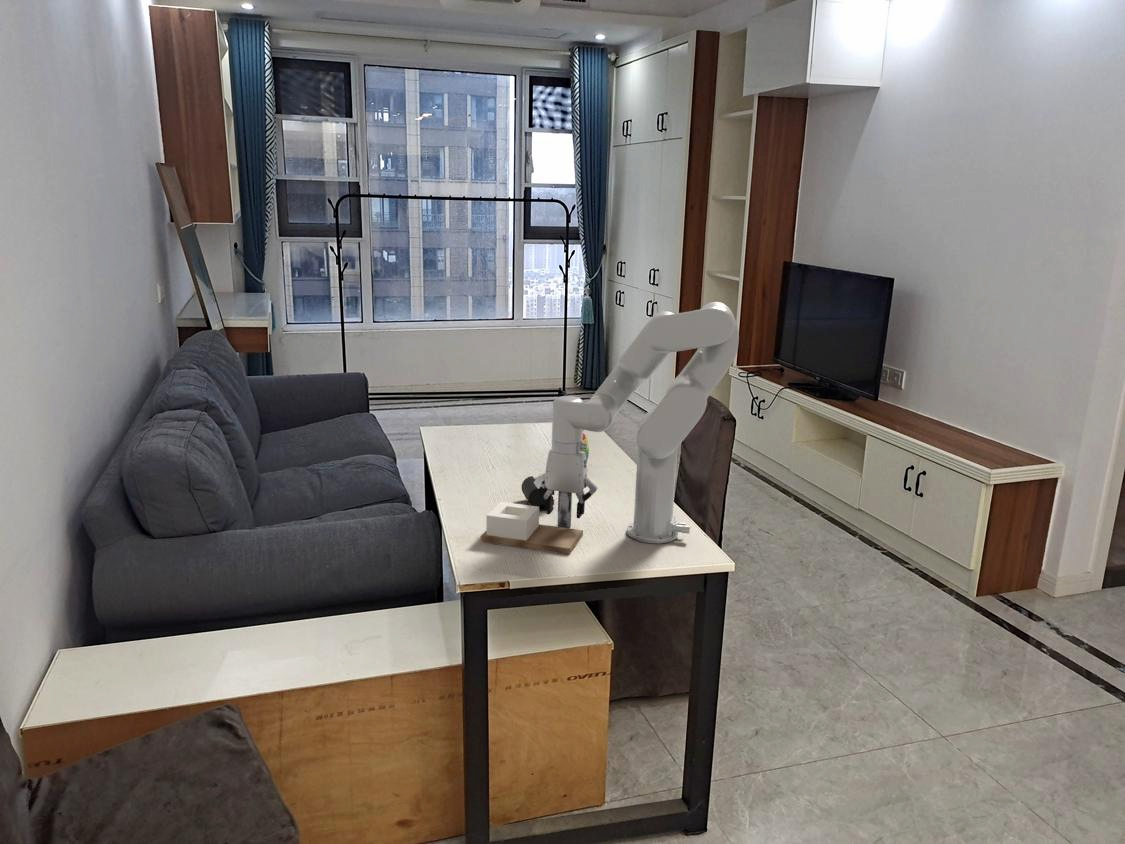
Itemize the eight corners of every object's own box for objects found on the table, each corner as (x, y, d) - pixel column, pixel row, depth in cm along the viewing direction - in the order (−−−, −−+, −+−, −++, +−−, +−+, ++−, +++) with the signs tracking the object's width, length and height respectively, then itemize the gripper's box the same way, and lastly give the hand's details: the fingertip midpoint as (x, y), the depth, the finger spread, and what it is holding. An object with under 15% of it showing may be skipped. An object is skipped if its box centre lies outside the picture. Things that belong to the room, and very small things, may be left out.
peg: (572, 524, 211) (573, 487, 208) (568, 529, 207) (570, 491, 205) (559, 523, 211) (560, 485, 209) (555, 527, 208) (556, 490, 206)
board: (582, 535, 204) (582, 530, 203) (569, 554, 192) (570, 548, 192) (498, 524, 209) (498, 518, 209) (480, 541, 198) (480, 535, 198)
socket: (538, 525, 205) (539, 506, 204) (526, 540, 196) (526, 520, 195) (500, 520, 208) (500, 501, 206) (486, 535, 198) (486, 515, 197)
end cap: (520, 499, 228) (521, 476, 226) (546, 498, 229) (546, 475, 228) (527, 512, 218) (528, 488, 217) (554, 511, 220) (555, 486, 218)
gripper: (604, 446, 206) (601, 513, 210) (537, 439, 210) (536, 505, 214) (597, 454, 198) (594, 524, 203) (528, 446, 203) (526, 515, 207)
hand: (564, 514), depth 209 cm, fingers open, 7 cm apart
